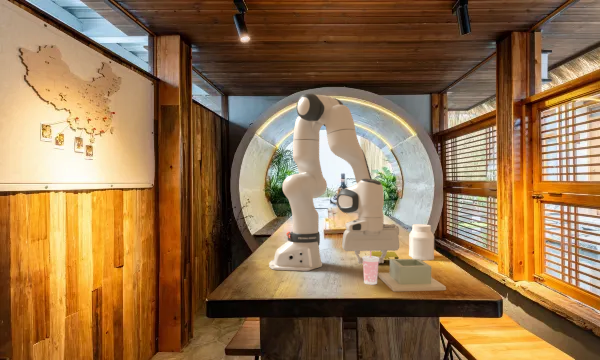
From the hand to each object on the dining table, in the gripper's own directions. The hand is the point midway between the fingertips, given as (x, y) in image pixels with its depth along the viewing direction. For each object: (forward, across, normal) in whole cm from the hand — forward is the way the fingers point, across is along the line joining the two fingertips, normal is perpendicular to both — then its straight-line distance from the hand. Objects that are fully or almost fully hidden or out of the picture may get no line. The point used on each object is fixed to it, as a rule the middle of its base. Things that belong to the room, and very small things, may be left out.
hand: (370, 262), depth 130 cm
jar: (+7, -34, -36) cm, 50 cm away
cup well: (+7, -14, +1) cm, 16 cm away
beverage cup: (+7, 0, 0) cm, 7 cm away
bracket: (+8, -14, -27) cm, 31 cm away
